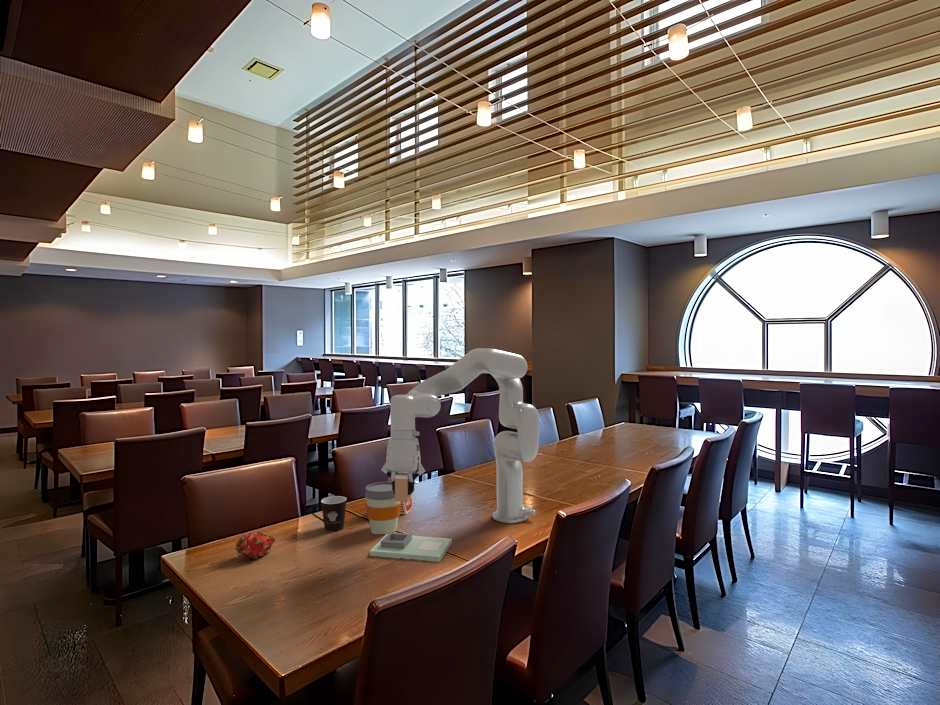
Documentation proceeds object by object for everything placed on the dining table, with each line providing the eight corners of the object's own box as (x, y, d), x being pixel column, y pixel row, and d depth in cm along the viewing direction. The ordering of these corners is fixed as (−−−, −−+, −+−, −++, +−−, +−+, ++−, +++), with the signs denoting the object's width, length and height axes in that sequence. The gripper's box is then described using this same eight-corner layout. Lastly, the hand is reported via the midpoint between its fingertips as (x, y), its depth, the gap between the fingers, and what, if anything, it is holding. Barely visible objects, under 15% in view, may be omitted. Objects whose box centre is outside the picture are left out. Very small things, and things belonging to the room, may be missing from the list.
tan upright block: (411, 497, 159) (411, 472, 159) (407, 501, 155) (407, 475, 155) (399, 497, 159) (399, 472, 159) (395, 501, 156) (394, 475, 155)
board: (451, 543, 162) (451, 533, 162) (439, 562, 148) (439, 550, 148) (387, 538, 166) (387, 528, 166) (369, 555, 153) (369, 545, 153)
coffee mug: (351, 525, 178) (351, 497, 178) (337, 534, 170) (337, 504, 170) (323, 521, 182) (323, 494, 182) (308, 530, 174) (308, 501, 174)
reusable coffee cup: (371, 539, 166) (370, 494, 165) (361, 527, 177) (360, 484, 176) (407, 532, 171) (406, 488, 171) (395, 520, 182) (394, 479, 182)
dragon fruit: (231, 567, 149) (271, 561, 157) (241, 557, 144) (282, 551, 153) (228, 539, 153) (268, 534, 161) (239, 528, 149) (278, 524, 157)
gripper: (432, 433, 159) (432, 491, 159) (381, 431, 162) (382, 488, 162) (425, 437, 152) (425, 498, 152) (372, 436, 155) (373, 495, 155)
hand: (403, 492), depth 157 cm, fingers closed on tan upright block, 4 cm apart
